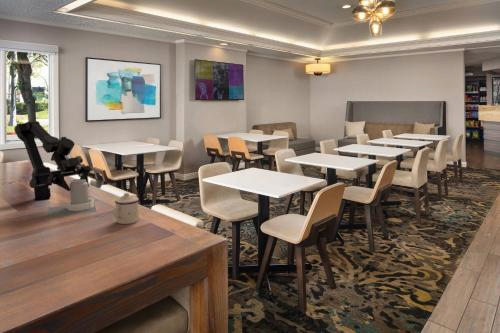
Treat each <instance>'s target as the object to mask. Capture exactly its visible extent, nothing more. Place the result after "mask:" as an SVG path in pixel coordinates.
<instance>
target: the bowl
mask: <svg viewBox="0 0 500 333" xmlns="http://www.w3.org/2000/svg"><path fill="white" fill-rule="evenodd" d="M94 204H95V199H94V198H91V197H89V203H85V204H71V199H70V200H68V201H66V206H67V210H69V211H84V210H89V209H92V208H93V207H94Z"/></svg>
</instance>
